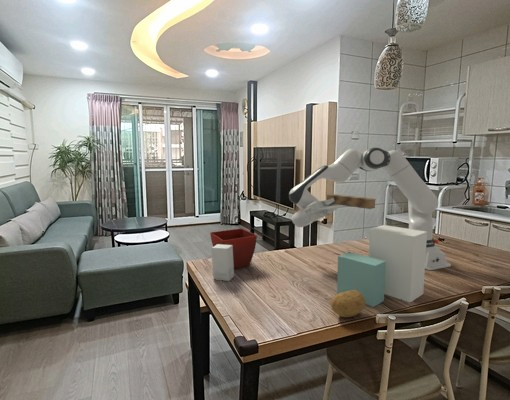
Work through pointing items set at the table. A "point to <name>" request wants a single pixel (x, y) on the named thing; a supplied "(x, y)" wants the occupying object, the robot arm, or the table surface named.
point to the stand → (400, 259)
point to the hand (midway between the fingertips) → (338, 198)
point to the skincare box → (223, 262)
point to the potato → (348, 303)
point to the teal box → (362, 276)
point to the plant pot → (237, 244)
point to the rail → (353, 201)
